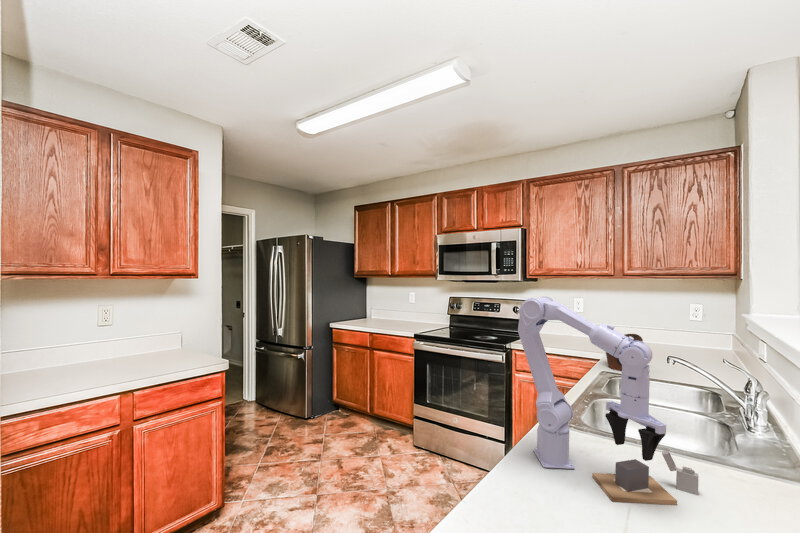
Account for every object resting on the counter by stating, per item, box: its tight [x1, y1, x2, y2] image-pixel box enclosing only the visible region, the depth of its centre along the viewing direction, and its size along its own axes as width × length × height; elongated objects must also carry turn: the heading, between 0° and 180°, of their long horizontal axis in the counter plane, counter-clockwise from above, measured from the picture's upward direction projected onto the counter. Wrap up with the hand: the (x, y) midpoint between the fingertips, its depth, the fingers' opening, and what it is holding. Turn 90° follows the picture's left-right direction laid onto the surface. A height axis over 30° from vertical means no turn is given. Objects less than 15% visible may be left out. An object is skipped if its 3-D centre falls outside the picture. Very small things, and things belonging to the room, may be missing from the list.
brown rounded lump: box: [605, 333, 644, 372], centre depth 201 cm, size 18×20×18 cm
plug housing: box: [614, 458, 650, 492], centre depth 91 cm, size 4×6×5 cm, turn 106°
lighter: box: [661, 450, 699, 496], centre depth 92 cm, size 7×2×8 cm, turn 53°
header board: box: [591, 472, 678, 506], centre depth 91 cm, size 10×14×3 cm
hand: (633, 451), depth 91 cm, fingers open, 7 cm apart
